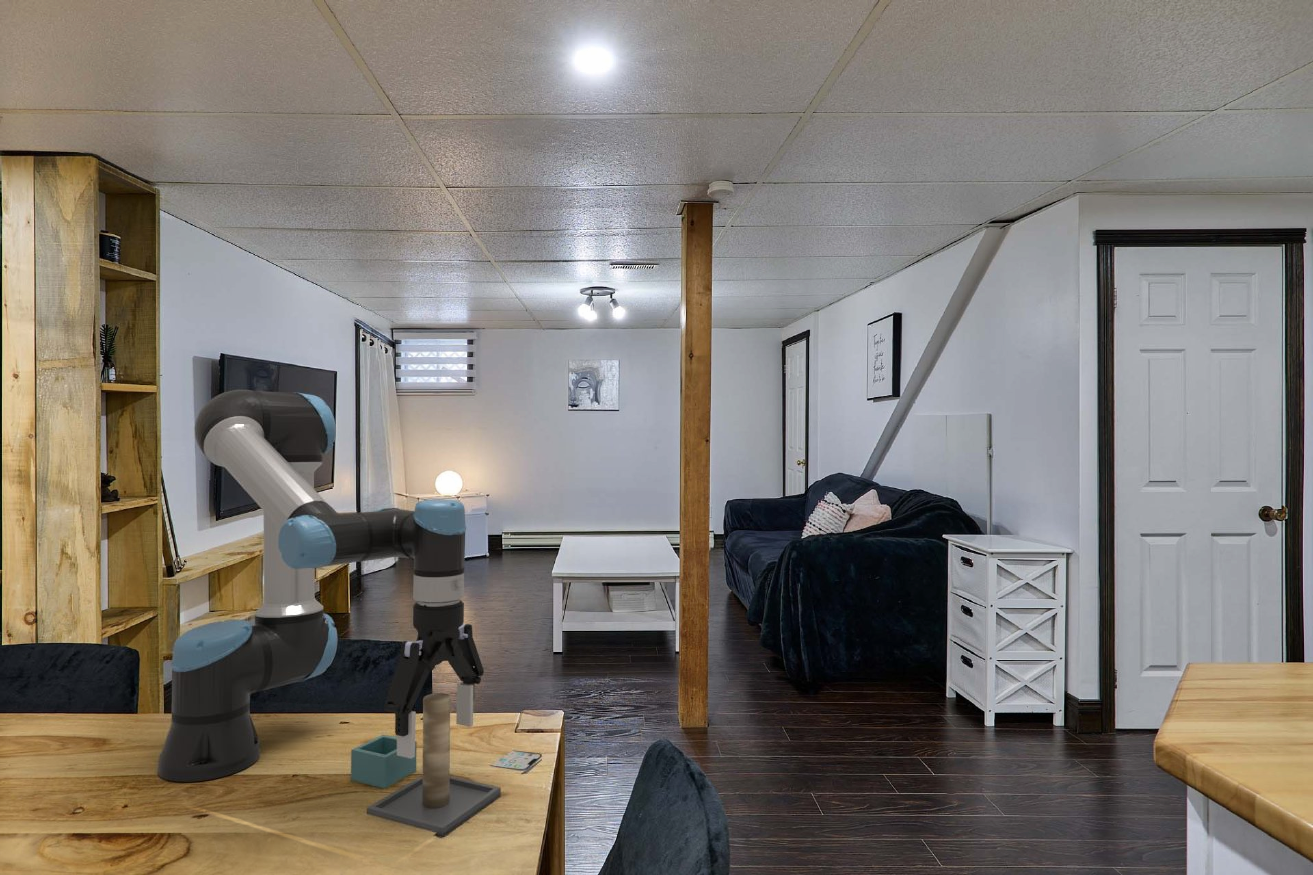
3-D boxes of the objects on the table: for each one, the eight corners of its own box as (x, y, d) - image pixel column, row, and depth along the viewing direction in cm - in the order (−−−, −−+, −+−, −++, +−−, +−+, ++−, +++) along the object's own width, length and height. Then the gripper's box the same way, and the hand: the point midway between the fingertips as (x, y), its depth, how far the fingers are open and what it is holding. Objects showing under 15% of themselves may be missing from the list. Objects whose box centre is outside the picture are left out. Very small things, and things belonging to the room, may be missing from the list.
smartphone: (469, 745, 140) (544, 753, 136) (469, 751, 140) (544, 760, 136) (447, 760, 133) (524, 770, 129) (447, 767, 133) (524, 777, 129)
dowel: (416, 805, 116) (417, 699, 116) (434, 794, 120) (434, 692, 120) (437, 810, 115) (438, 703, 115) (454, 799, 118) (455, 695, 119)
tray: (366, 817, 114) (366, 807, 114) (429, 779, 126) (429, 771, 126) (442, 838, 108) (442, 828, 108) (500, 796, 121) (500, 787, 121)
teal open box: (350, 783, 125) (351, 749, 125) (382, 766, 131) (383, 734, 131) (384, 792, 122) (385, 757, 122) (416, 774, 128) (416, 741, 128)
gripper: (400, 620, 104) (398, 776, 104) (506, 589, 127) (504, 717, 127) (359, 615, 107) (356, 766, 107) (469, 585, 130) (467, 710, 130)
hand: (436, 739), depth 117 cm, fingers open, 13 cm apart
